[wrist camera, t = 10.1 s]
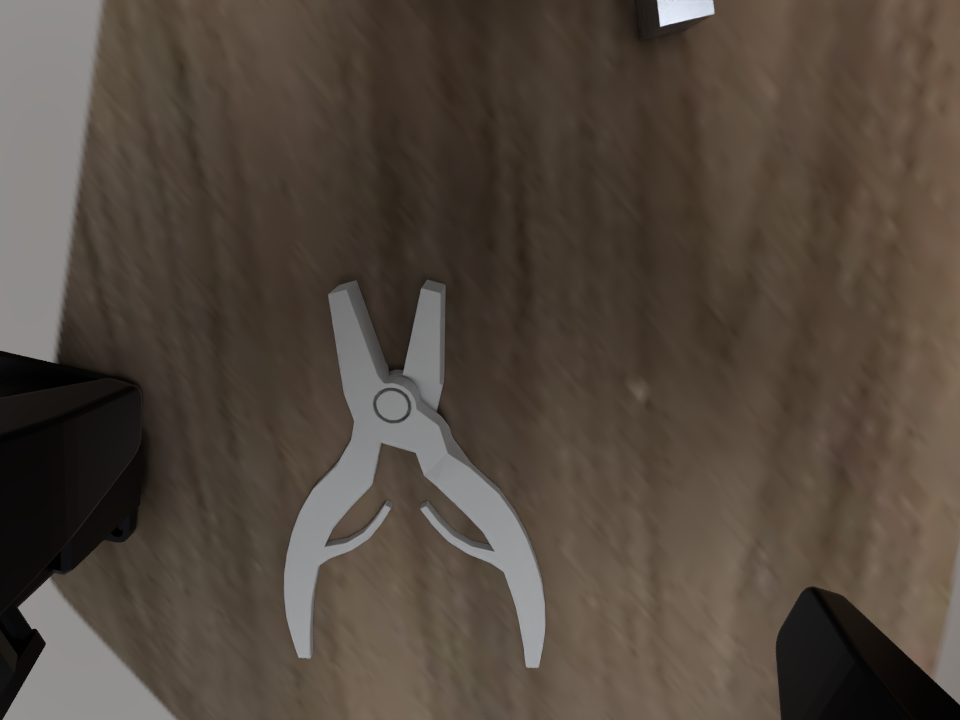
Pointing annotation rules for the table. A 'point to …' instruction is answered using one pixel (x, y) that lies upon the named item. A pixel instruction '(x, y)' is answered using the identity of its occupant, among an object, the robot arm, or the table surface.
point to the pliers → (419, 428)
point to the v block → (670, 16)
